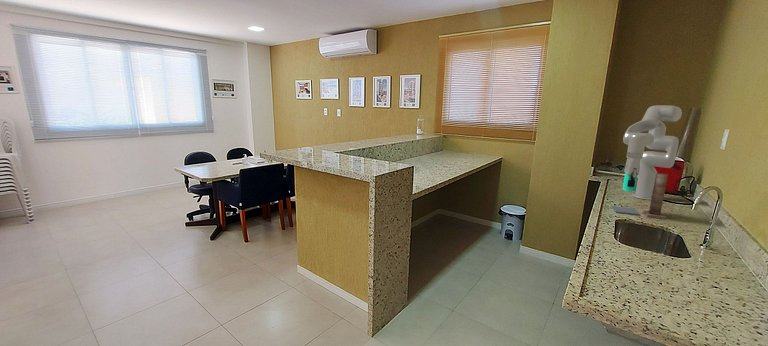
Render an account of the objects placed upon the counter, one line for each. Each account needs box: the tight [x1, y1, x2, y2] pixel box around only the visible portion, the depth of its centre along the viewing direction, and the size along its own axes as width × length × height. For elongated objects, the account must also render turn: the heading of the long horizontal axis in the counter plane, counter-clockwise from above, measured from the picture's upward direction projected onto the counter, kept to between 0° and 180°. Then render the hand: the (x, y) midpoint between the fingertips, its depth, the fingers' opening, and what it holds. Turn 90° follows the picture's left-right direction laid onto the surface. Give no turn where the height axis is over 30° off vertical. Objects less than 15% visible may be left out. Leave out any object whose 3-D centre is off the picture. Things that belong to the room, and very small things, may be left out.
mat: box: [611, 205, 640, 216], centre depth 188 cm, size 11×11×1 cm
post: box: [642, 172, 669, 220], centre depth 178 cm, size 8×8×25 cm
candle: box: [622, 172, 639, 192], centre depth 186 cm, size 6×6×12 cm
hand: (629, 185), depth 187 cm, fingers closed on candle, 4 cm apart
